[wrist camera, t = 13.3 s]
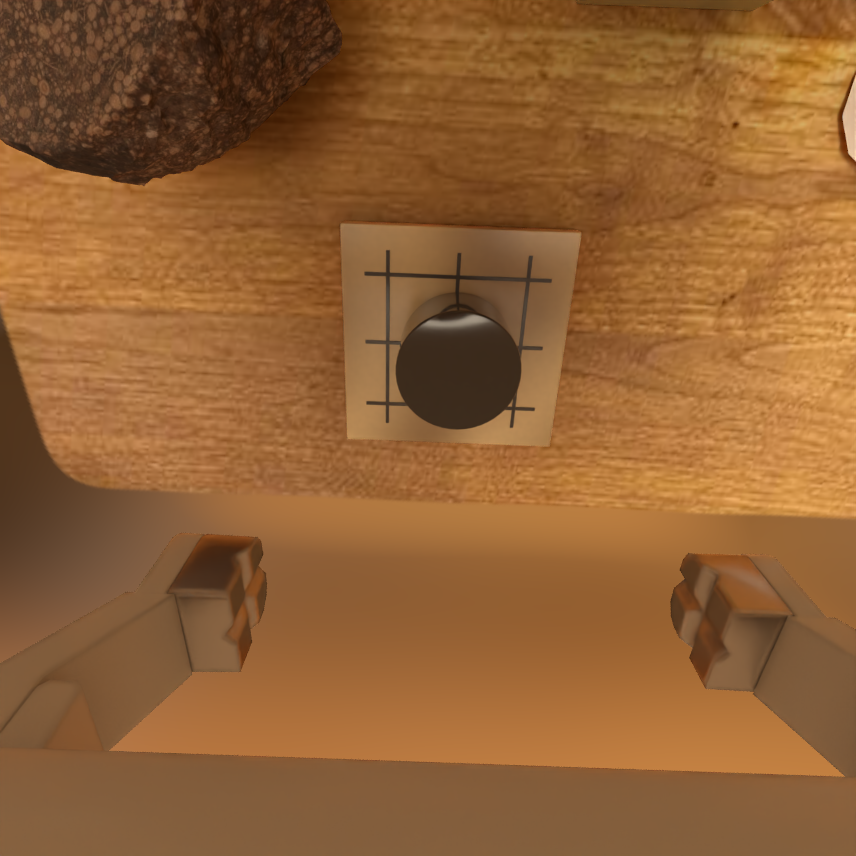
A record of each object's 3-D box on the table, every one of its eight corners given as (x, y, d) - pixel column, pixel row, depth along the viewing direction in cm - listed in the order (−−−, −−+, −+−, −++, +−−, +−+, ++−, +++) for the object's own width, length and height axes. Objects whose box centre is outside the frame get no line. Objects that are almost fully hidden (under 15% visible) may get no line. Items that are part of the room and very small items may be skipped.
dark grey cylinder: (379, 328, 24) (370, 352, 21) (477, 269, 23) (483, 285, 20) (436, 416, 26) (436, 450, 23) (530, 366, 25) (543, 394, 22)
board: (349, 430, 28) (346, 440, 27) (343, 220, 23) (339, 222, 22) (546, 438, 28) (550, 447, 27) (576, 229, 23) (582, 232, 22)
